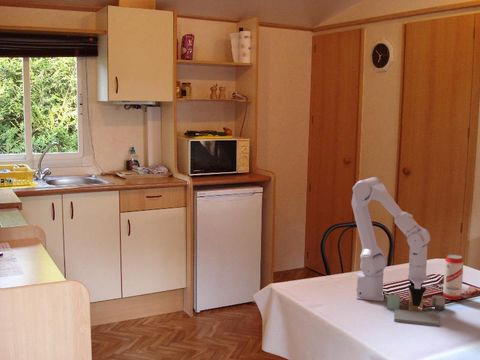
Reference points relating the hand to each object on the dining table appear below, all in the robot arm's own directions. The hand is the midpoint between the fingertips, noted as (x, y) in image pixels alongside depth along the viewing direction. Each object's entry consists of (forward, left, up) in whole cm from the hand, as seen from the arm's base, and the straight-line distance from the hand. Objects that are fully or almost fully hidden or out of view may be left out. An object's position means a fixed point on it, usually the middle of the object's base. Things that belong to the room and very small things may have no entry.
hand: (416, 301), depth 191 cm
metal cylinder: (+7, +2, -3) cm, 8 cm away
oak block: (0, 0, -3) cm, 3 cm away
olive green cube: (-8, -1, -3) cm, 8 cm away
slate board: (0, -9, -3) cm, 9 cm away
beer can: (+13, +13, -3) cm, 19 cm away
